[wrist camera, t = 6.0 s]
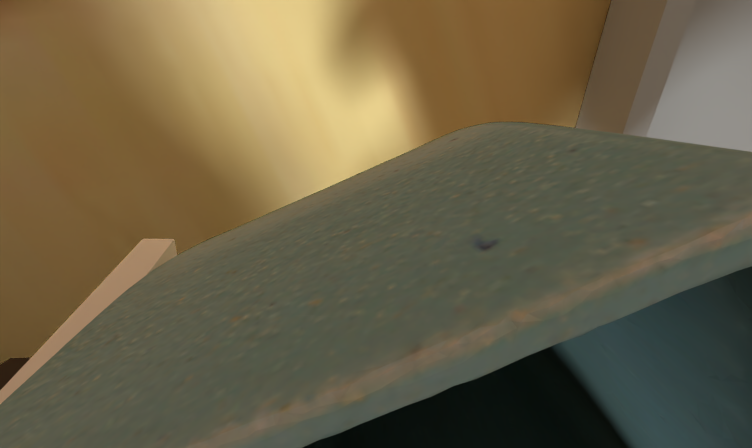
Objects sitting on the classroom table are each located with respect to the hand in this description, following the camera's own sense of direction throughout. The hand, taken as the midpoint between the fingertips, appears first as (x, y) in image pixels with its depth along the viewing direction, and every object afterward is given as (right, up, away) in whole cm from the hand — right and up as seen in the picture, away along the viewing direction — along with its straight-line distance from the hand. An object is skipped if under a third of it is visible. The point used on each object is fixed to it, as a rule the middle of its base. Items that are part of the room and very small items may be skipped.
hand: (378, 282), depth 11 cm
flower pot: (0, +1, +1) cm, 2 cm away
